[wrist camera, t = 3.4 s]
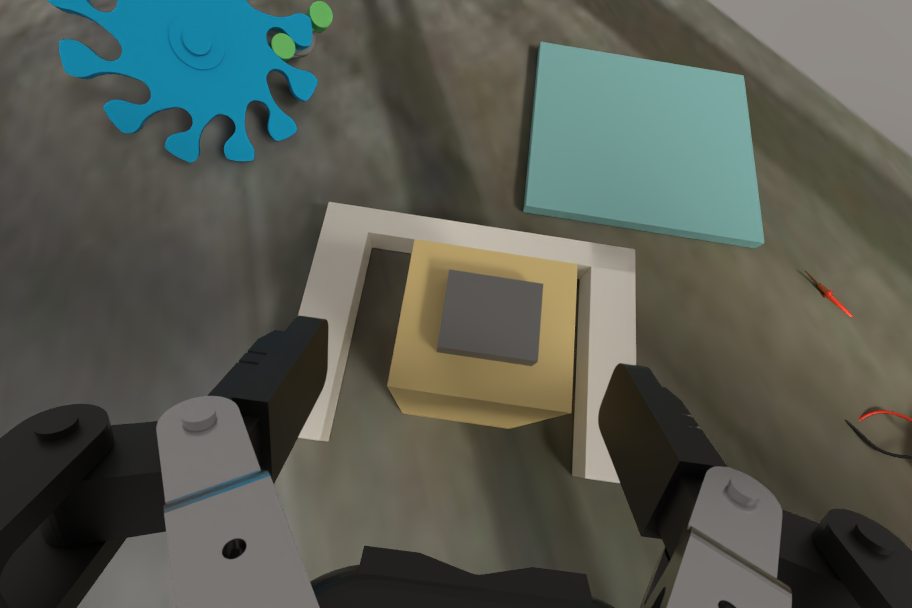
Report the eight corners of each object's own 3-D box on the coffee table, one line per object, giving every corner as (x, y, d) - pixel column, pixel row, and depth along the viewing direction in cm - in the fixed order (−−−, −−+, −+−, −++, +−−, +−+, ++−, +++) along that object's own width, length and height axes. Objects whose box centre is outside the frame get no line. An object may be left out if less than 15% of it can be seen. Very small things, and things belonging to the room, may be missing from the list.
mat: (736, 83, 25) (743, 75, 25) (755, 248, 22) (764, 243, 21) (538, 51, 25) (540, 41, 24) (523, 212, 21) (525, 205, 21)
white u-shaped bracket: (620, 263, 21) (635, 249, 19) (619, 482, 17) (637, 485, 16) (335, 218, 20) (329, 201, 19) (279, 434, 17) (265, 433, 16)
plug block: (517, 337, 19) (585, 254, 11) (509, 428, 18) (580, 411, 10) (418, 322, 19) (414, 227, 11) (402, 413, 18) (384, 382, 10)
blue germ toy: (122, 190, 18) (-38, -118, 14) (145, 176, 23) (32, -54, 19) (366, 137, 22) (303, -120, 17) (341, 135, 27) (286, -66, 22)
